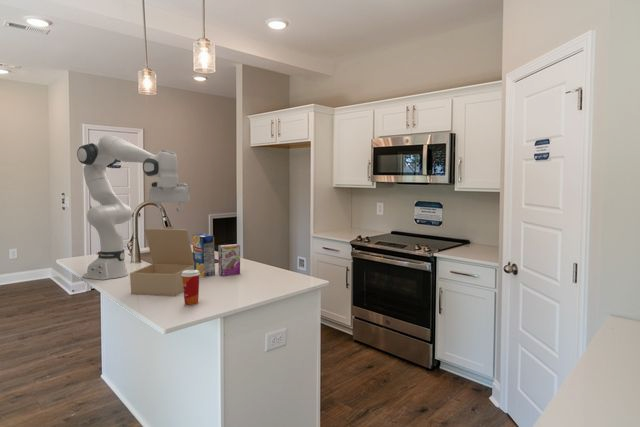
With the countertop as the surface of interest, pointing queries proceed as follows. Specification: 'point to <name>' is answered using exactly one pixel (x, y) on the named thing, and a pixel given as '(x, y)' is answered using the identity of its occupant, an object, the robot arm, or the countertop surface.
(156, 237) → the lid flap
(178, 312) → the countertop surface
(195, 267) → the beverage box
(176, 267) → the carton
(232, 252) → the candy bar box
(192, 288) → the paper cup
